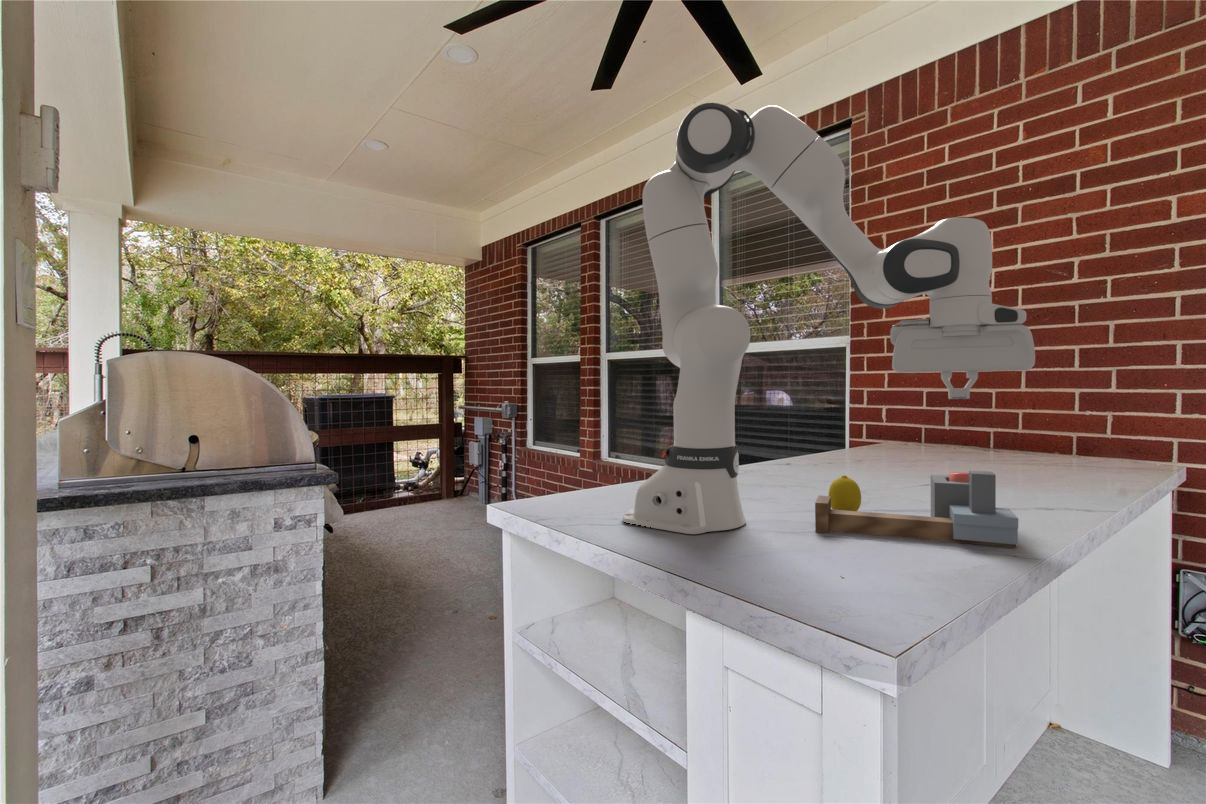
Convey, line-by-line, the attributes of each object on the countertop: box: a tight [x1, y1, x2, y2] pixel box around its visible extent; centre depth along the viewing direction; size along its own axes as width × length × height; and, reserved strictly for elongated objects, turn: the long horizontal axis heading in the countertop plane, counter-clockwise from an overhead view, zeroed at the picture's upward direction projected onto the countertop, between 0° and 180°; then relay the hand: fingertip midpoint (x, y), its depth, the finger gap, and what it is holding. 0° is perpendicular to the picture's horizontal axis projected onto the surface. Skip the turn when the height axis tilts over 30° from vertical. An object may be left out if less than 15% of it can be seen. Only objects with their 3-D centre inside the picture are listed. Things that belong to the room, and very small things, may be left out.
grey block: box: [930, 474, 969, 518], centre depth 95 cm, size 8×8×8 cm
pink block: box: [948, 471, 969, 482], centre depth 95 cm, size 3×3×6 cm
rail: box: [814, 495, 1017, 548], centre depth 90 cm, size 28×6×5 cm, turn 63°
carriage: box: [949, 470, 1019, 546], centre depth 86 cm, size 8×6×10 cm
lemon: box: [828, 475, 862, 511], centre depth 102 cm, size 6×6×8 cm
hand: (958, 398), depth 94 cm, fingers closed
